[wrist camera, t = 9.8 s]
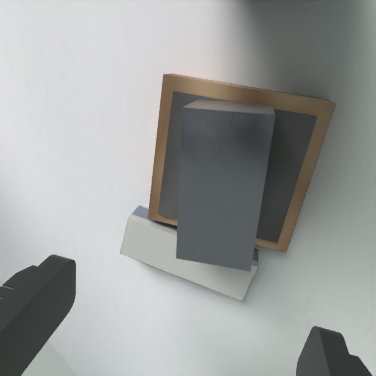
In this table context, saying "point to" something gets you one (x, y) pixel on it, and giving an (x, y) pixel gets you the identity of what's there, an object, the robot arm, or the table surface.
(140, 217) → the eraser
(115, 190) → the table surface
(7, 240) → the table surface
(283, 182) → the stand
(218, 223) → the block
